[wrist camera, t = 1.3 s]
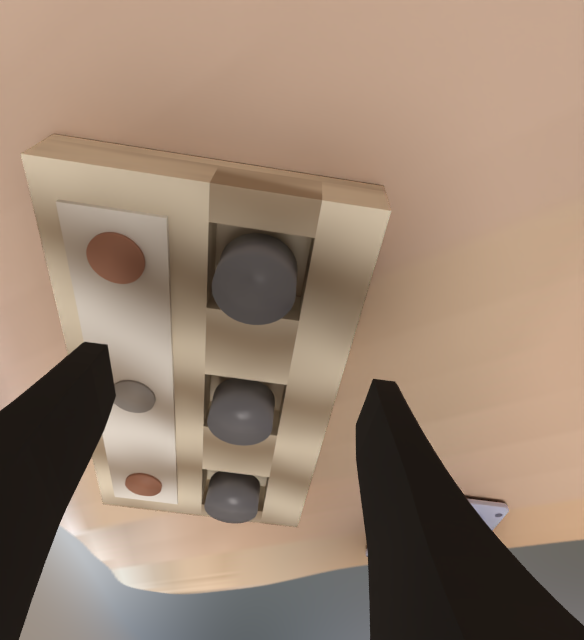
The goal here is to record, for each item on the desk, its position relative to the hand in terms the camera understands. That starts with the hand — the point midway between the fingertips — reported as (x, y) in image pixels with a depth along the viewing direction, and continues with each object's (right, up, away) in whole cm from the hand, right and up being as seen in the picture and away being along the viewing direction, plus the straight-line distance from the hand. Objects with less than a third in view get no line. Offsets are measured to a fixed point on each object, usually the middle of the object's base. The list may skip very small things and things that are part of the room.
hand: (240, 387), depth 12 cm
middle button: (-1, -2, +11) cm, 11 cm away
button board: (-3, -1, +12) cm, 13 cm away
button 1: (0, +4, +6) cm, 7 cm away
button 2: (-2, -8, +16) cm, 18 cm away
